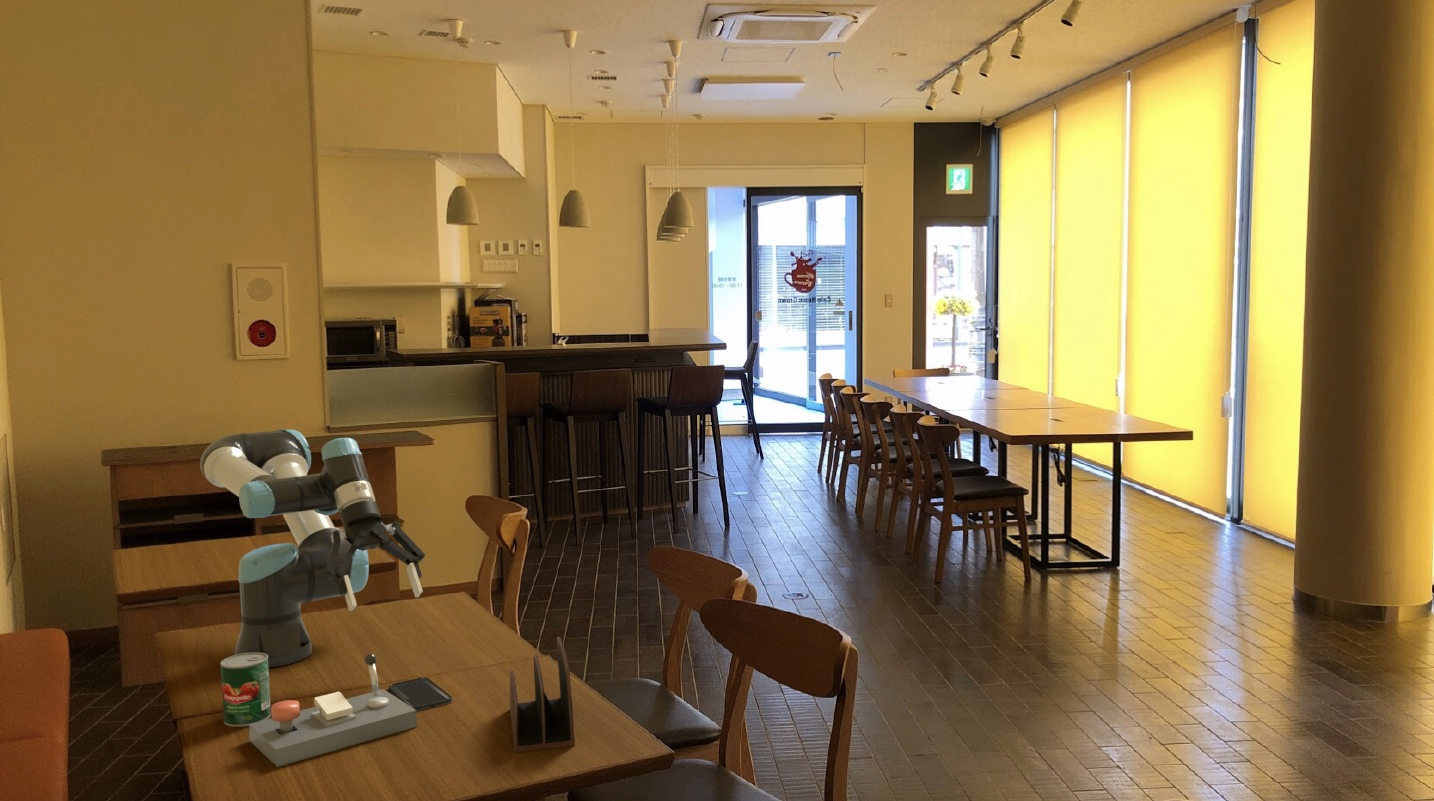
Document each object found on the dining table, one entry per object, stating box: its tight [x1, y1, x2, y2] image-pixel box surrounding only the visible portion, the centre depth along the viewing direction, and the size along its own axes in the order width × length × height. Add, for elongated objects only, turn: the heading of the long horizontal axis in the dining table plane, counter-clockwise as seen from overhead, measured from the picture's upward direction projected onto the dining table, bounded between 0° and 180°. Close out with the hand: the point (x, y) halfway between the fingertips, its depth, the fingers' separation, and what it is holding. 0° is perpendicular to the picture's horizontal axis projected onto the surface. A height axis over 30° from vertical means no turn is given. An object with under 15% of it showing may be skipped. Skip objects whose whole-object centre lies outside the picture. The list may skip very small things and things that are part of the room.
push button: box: [270, 699, 301, 735], centre depth 180 cm, size 4×4×5 cm
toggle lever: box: [364, 653, 381, 696], centre depth 191 cm, size 2×2×7 cm
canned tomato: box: [219, 652, 272, 728], centre depth 193 cm, size 8×8×11 cm
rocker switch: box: [313, 691, 353, 720], centre depth 185 cm, size 6×4×2 cm
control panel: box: [248, 689, 418, 768], centre depth 185 cm, size 14×24×4 cm, turn 130°
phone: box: [388, 676, 453, 712], centre depth 203 cm, size 8×1×15 cm
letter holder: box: [509, 636, 576, 753], centre depth 186 cm, size 10×20×14 cm, turn 13°
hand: (386, 601), depth 213 cm, fingers open, 13 cm apart
